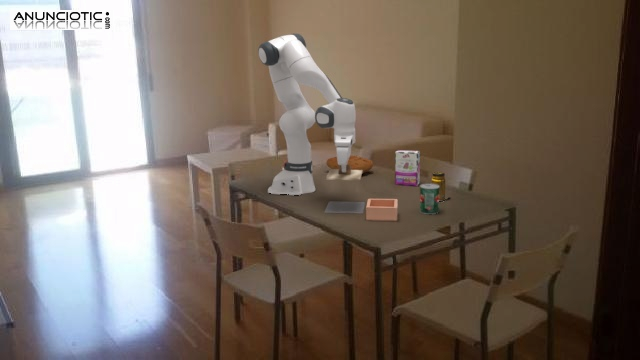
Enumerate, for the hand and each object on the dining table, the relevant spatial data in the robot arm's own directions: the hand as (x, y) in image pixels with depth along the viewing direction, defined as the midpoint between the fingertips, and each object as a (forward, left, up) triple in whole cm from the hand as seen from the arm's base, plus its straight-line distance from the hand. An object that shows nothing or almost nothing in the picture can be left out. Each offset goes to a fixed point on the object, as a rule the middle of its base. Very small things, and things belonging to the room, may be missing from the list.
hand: (344, 170), depth 251 cm
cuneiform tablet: (-3, +62, -17) cm, 65 cm away
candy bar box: (+26, +41, -17) cm, 51 cm away
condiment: (+40, +17, -17) cm, 47 cm away
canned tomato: (+35, -2, -17) cm, 39 cm away
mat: (0, 0, -16) cm, 16 cm away
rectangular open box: (+16, -11, -16) cm, 26 cm away
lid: (0, 0, -2) cm, 2 cm away
